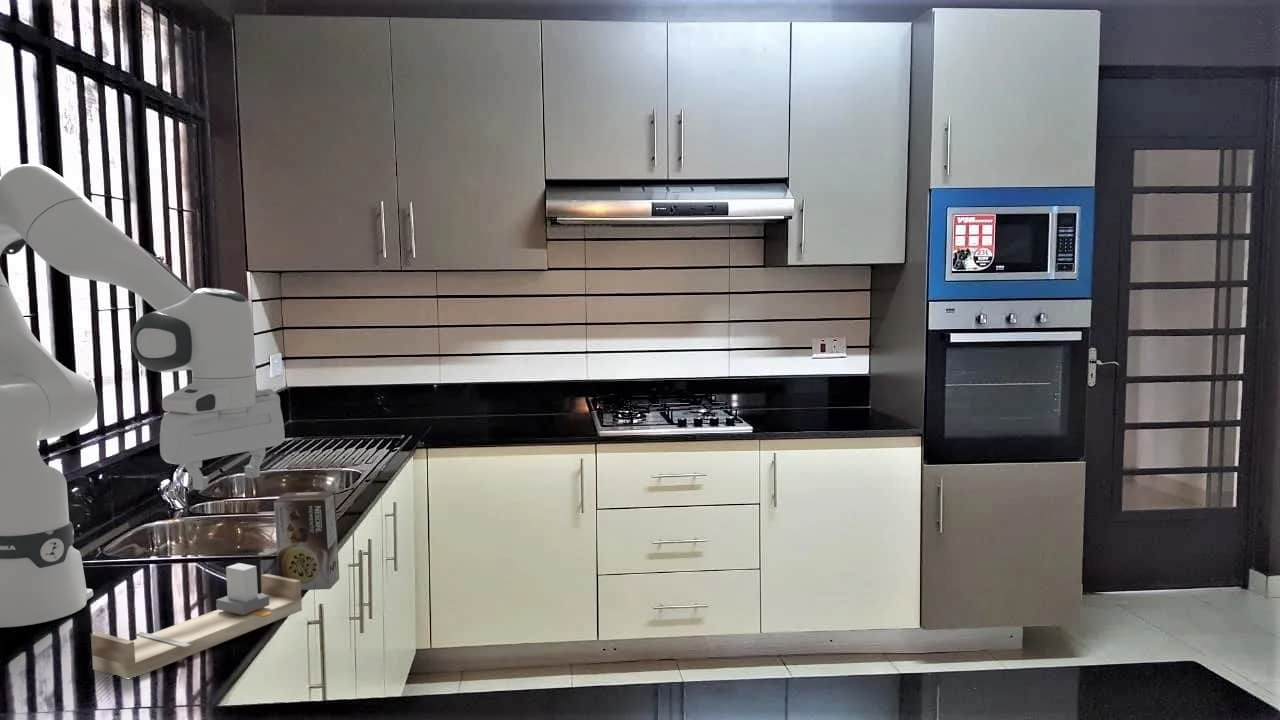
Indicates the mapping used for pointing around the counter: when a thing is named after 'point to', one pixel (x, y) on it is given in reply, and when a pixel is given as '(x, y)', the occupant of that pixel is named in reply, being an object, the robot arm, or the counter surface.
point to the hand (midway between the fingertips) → (227, 482)
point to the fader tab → (242, 590)
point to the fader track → (192, 633)
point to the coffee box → (307, 538)
